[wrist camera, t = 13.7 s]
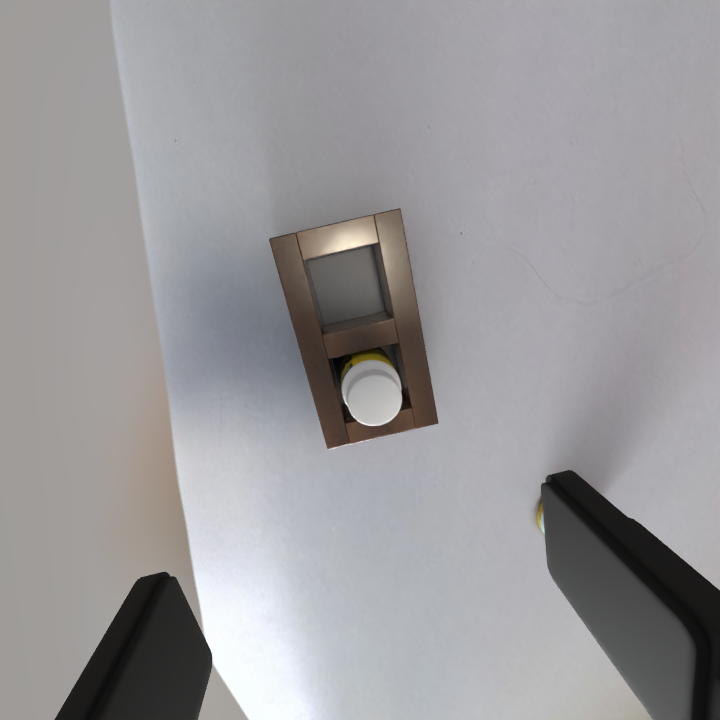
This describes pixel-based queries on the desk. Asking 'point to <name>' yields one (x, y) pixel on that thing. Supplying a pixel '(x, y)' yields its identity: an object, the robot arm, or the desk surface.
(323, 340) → the holder
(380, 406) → the supplement bottle
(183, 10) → the desk surface
